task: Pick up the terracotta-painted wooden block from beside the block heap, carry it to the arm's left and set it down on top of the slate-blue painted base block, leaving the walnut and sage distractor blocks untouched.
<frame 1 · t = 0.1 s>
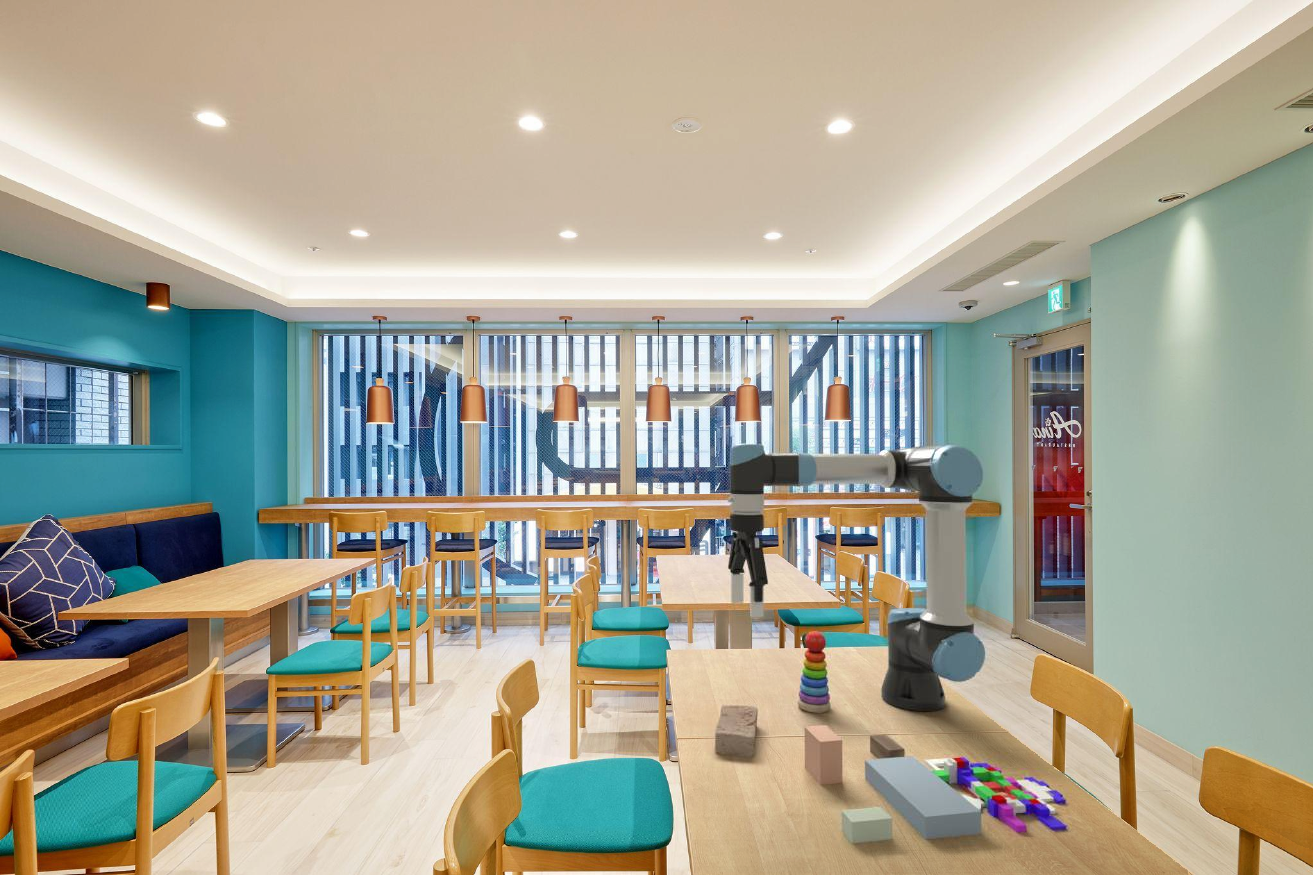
hand: (746, 609, 142), 28 cm above the table, fingers open, 13 cm apart
stacking toy: (814, 708, 159), on the table
building block set: (998, 796, 119), on the table
base block: (918, 806, 114), on the table
walnut block: (887, 759, 132), on the table
sage block: (866, 836, 105), on the table
terracotta block: (823, 775, 125), on the table
brick: (737, 740, 141), on the table
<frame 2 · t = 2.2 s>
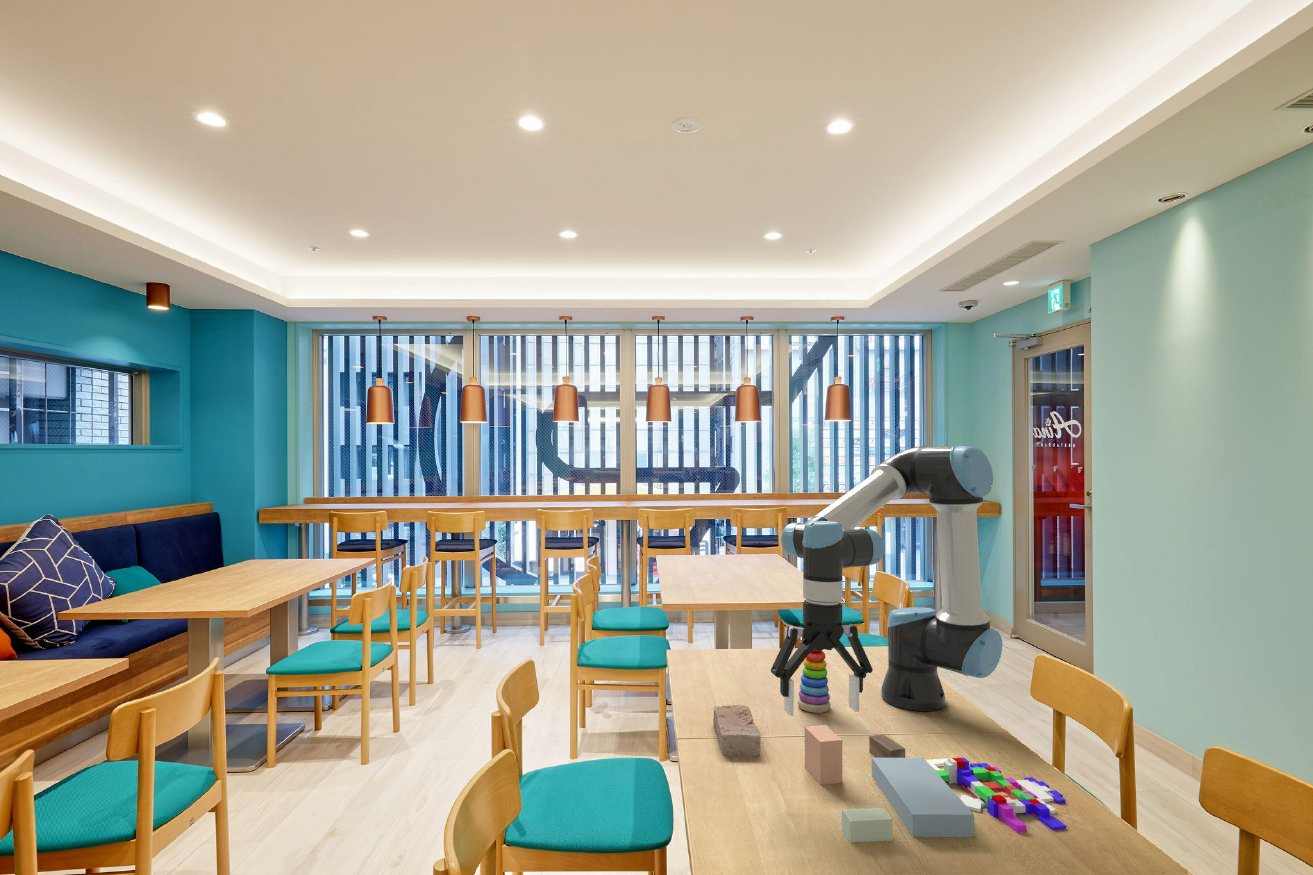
hand: (821, 711, 125), 12 cm above the table, fingers open, 13 cm apart
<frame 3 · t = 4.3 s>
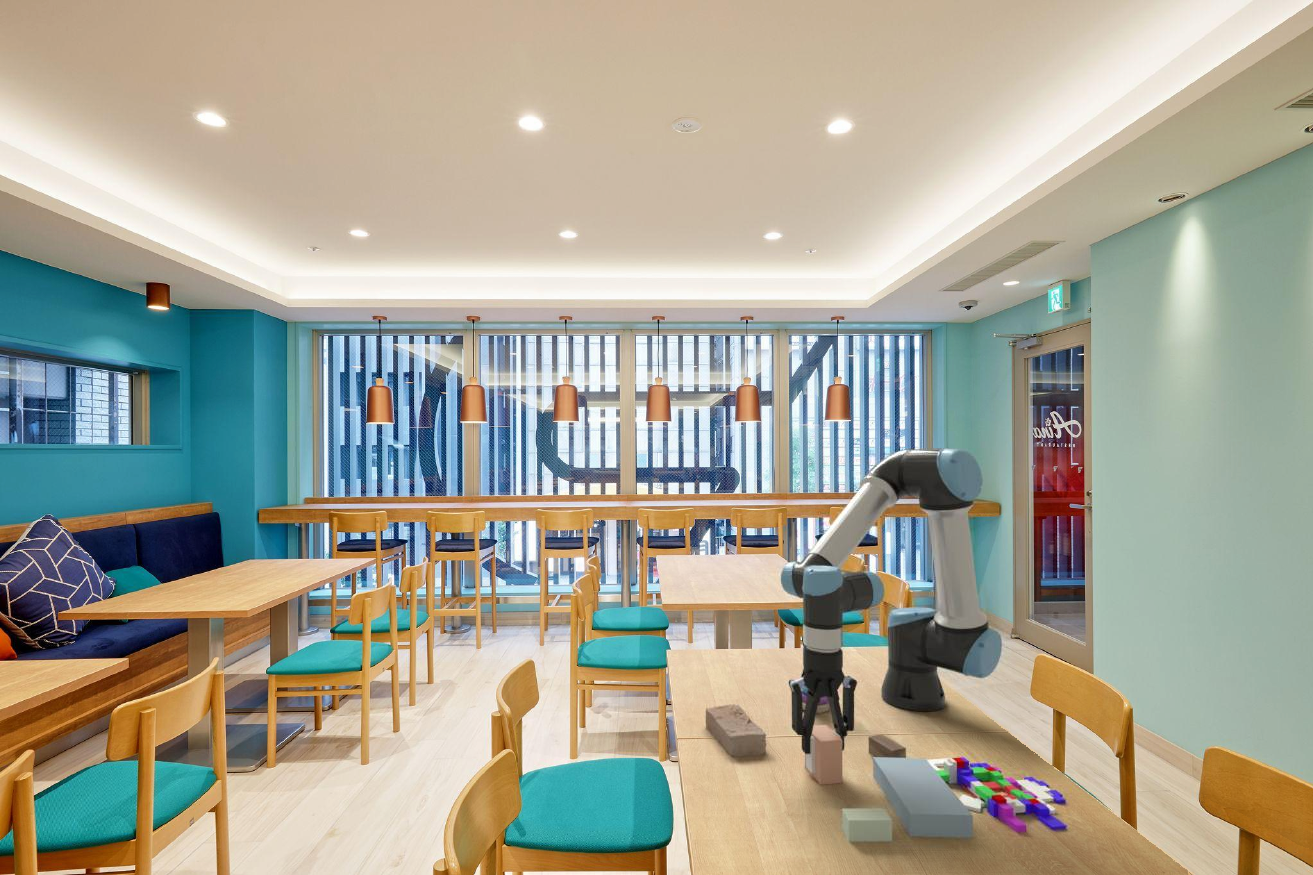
hand: (823, 768, 125), 1 cm above the table, fingers closed on terracotta block, 4 cm apart
terracotta block: (823, 774, 125), on the table, touching gripper
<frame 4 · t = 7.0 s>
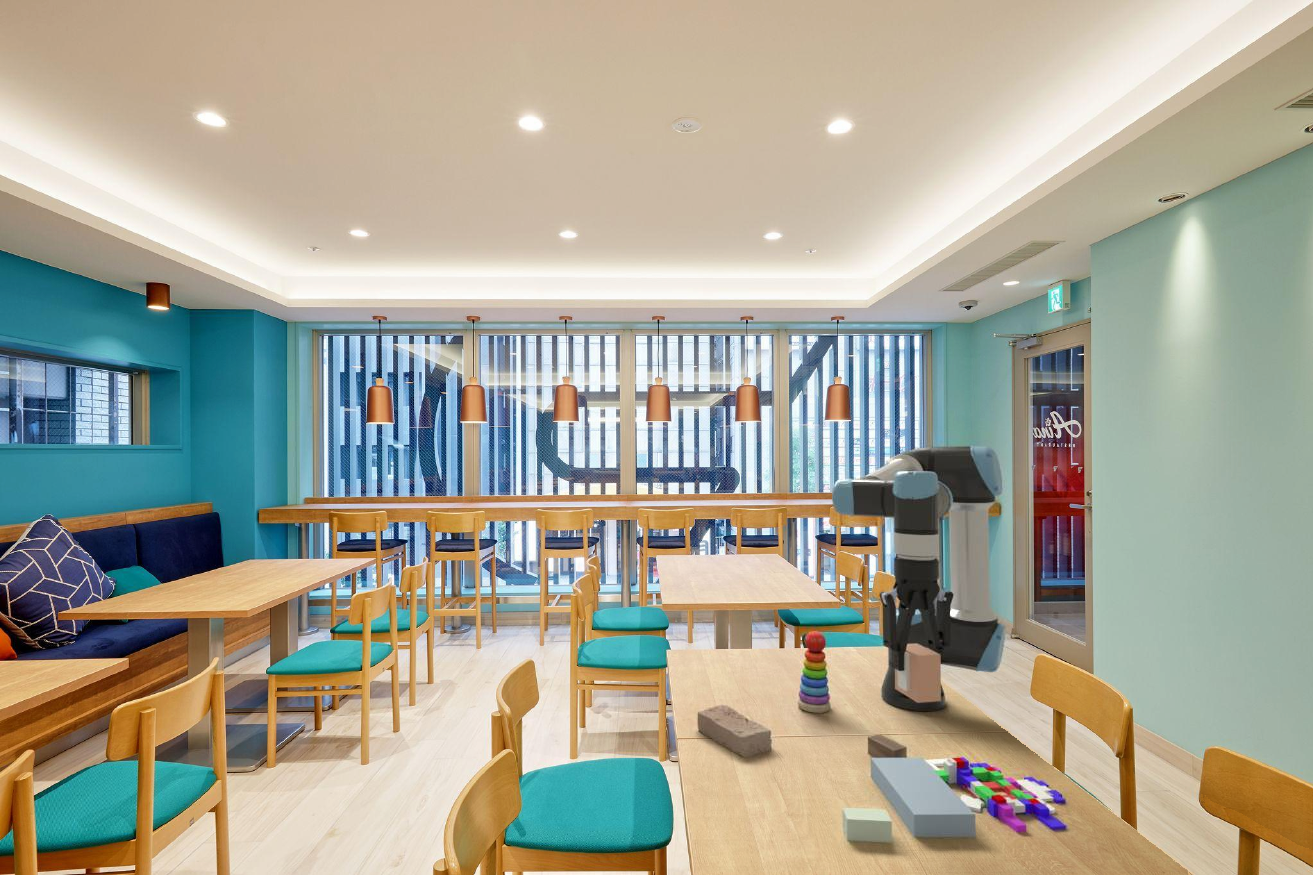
hand: (917, 687, 115), 20 cm above the table, fingers closed on terracotta block, 4 cm apart
terracotta block: (917, 694, 115), point 19 cm above the table, touching gripper
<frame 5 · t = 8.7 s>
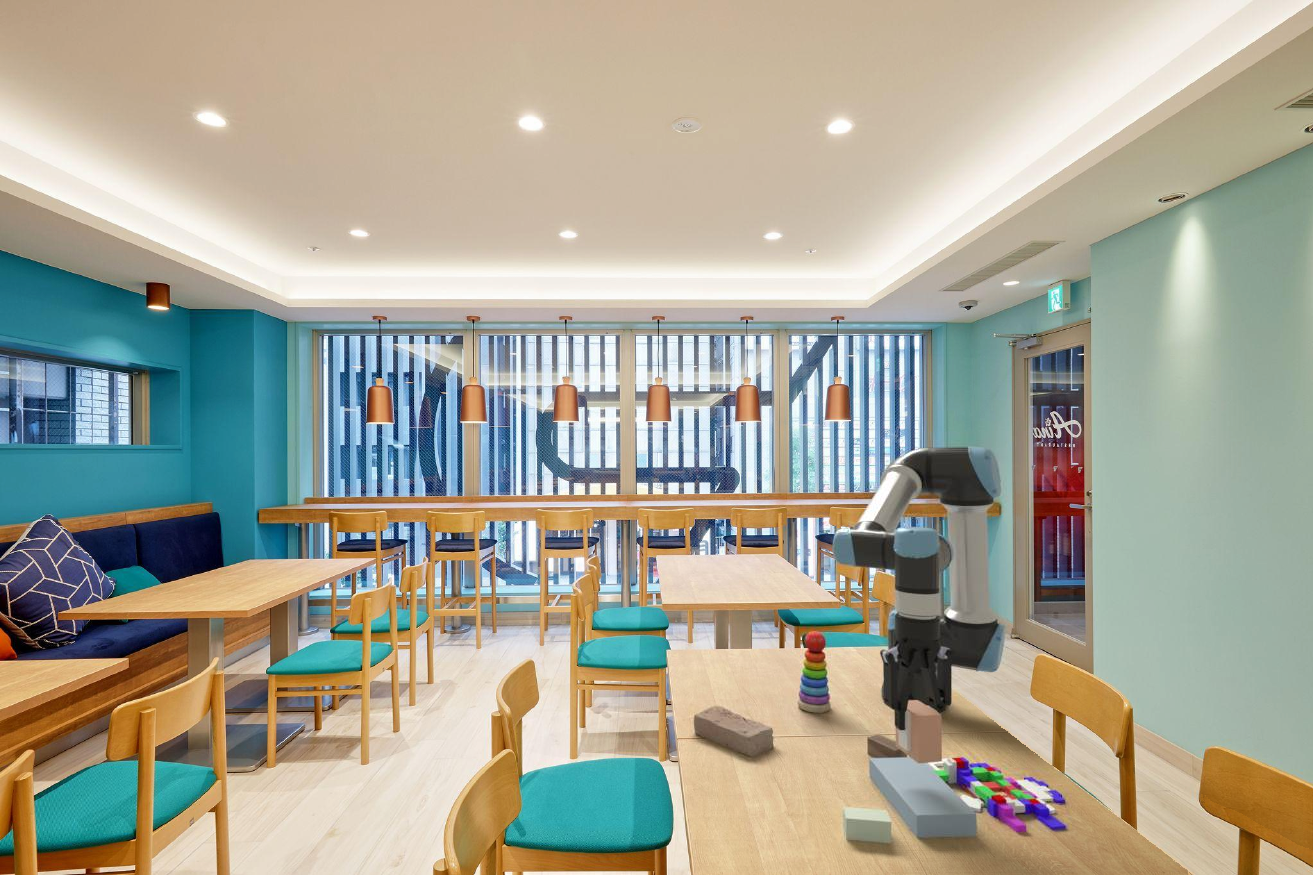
hand: (918, 746, 115), 10 cm above the table, fingers closed on terracotta block, 4 cm apart
terracotta block: (918, 753, 115), point 9 cm above the table, touching gripper
when the fingers open (7 cm above the table, at t = 10.1 s): terracotta block drops 2 cm, resting on base block.
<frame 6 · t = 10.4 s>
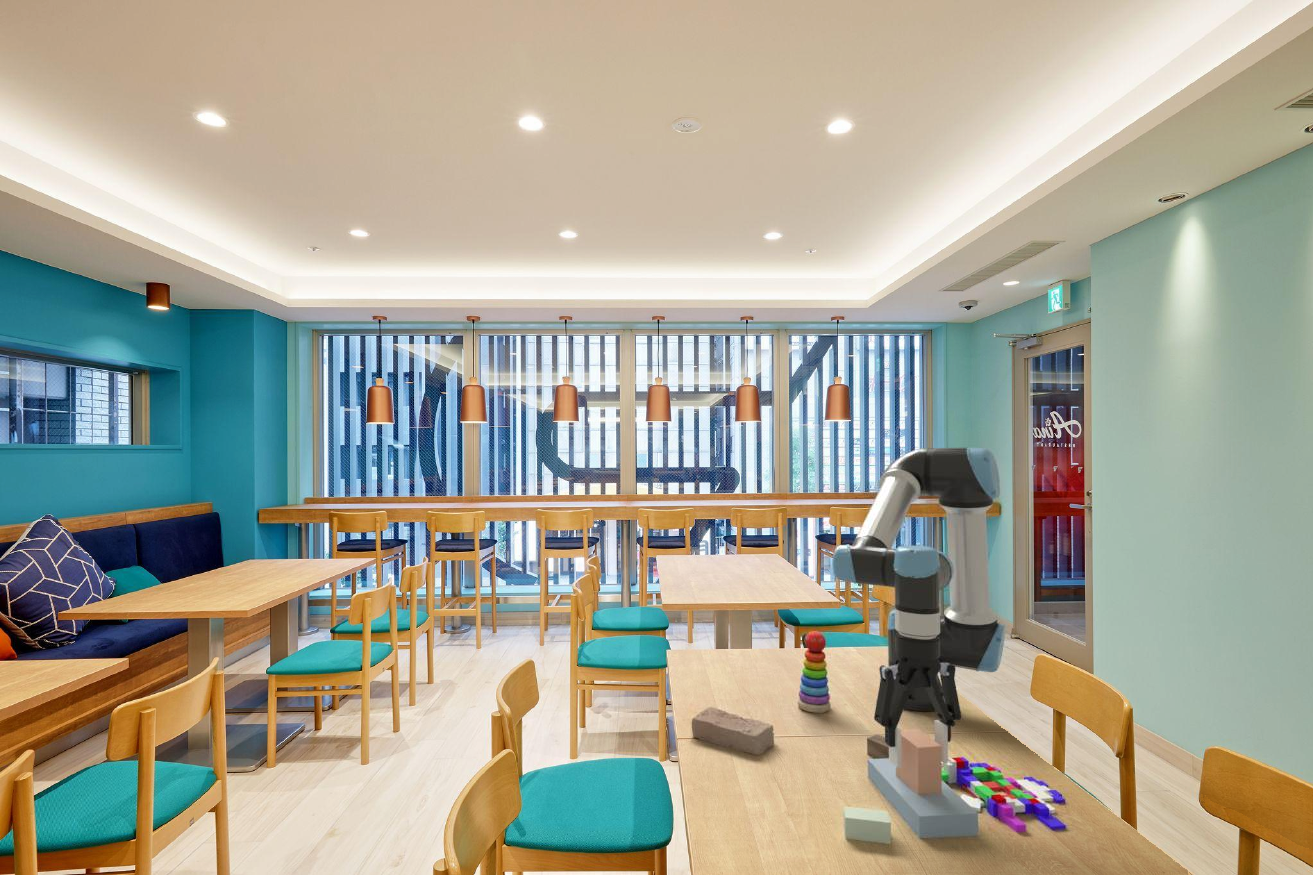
hand: (918, 761, 115), 7 cm above the table, fingers open, 8 cm apart
base block: (918, 806, 114), on the table, touching terracotta block
terracotta block: (918, 783, 115), point 3 cm above the table, touching base block
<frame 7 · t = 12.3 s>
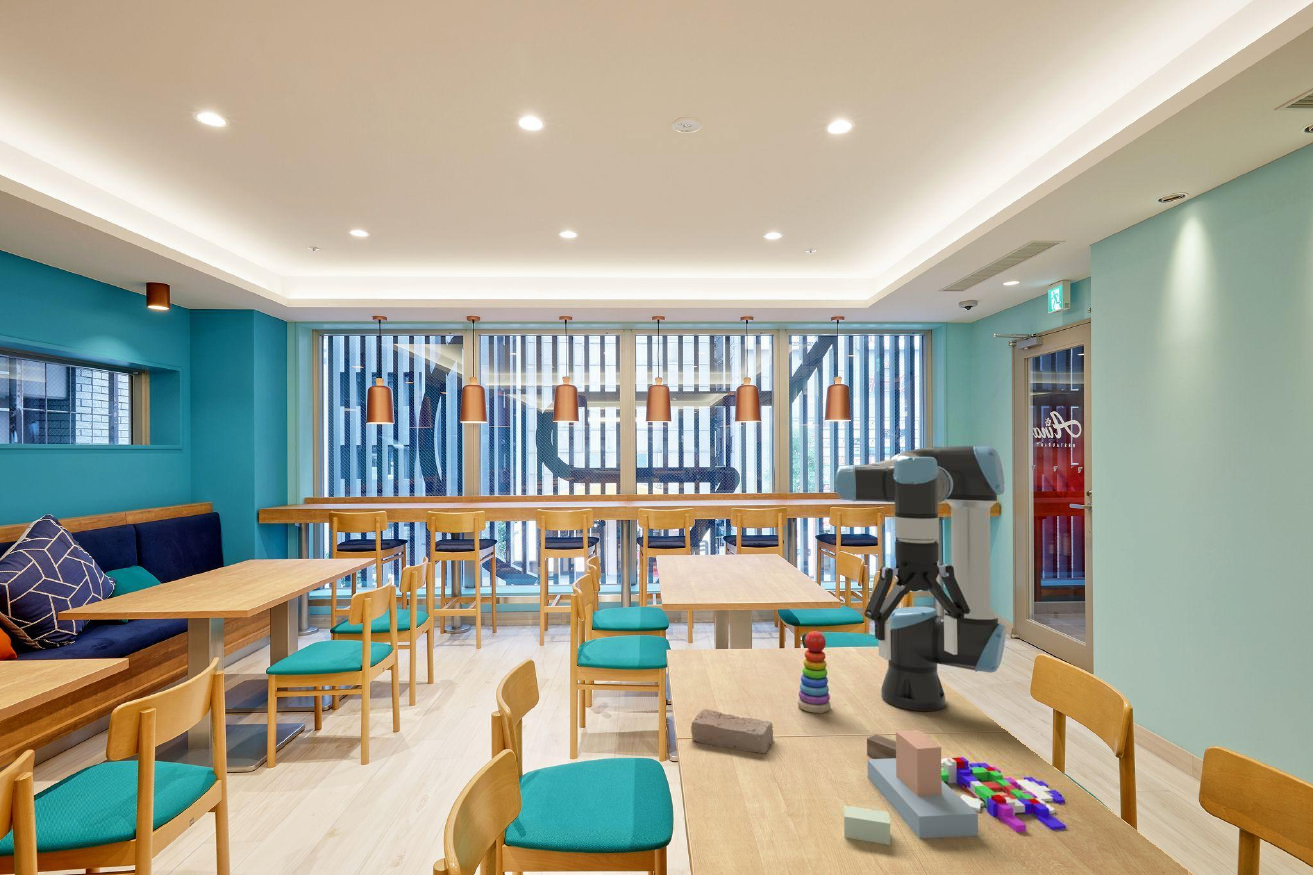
hand: (918, 655, 119), 25 cm above the table, fingers open, 13 cm apart
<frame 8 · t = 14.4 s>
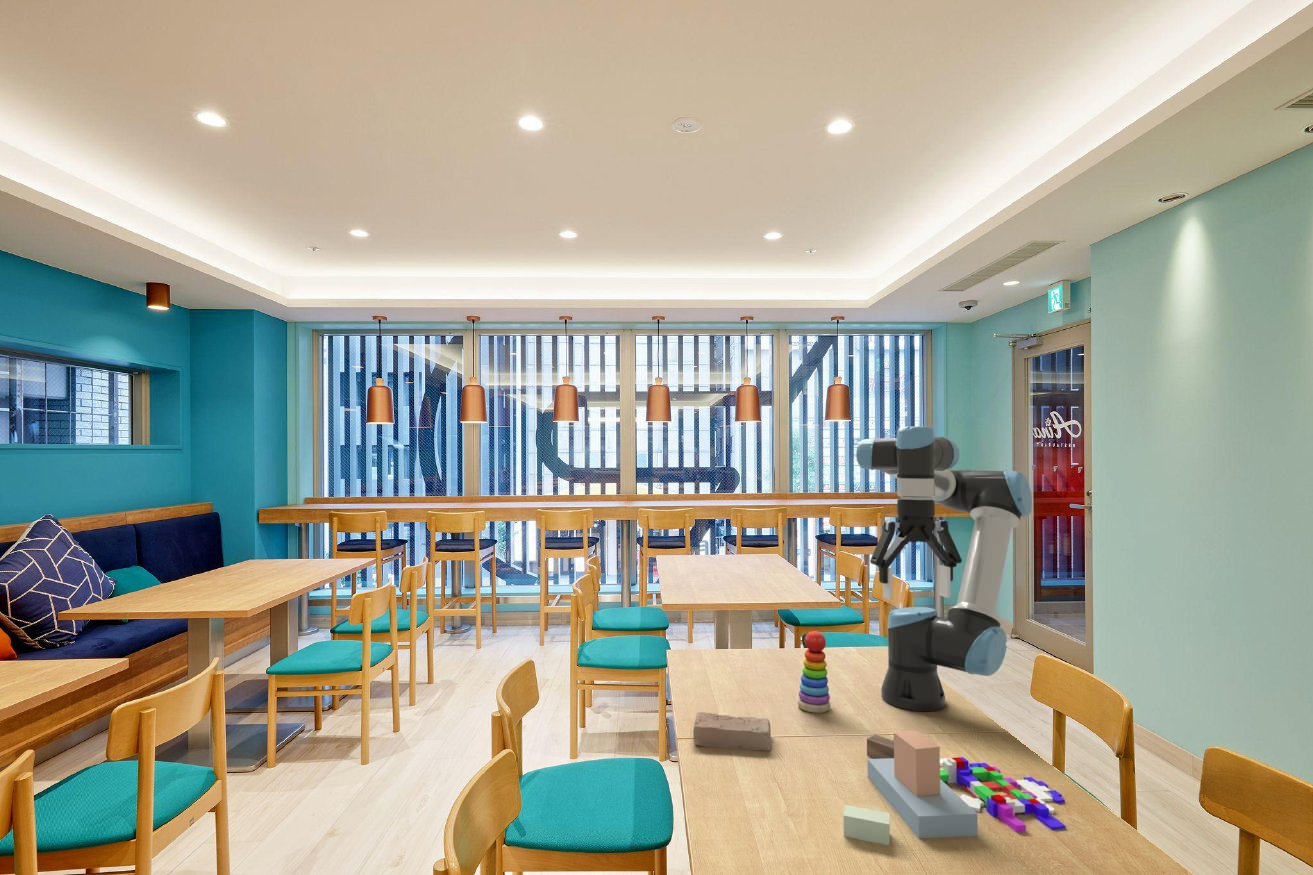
hand: (916, 597, 138), 32 cm above the table, fingers open, 13 cm apart
at the end: terracotta block inside the target area on the base block (0.6 cm from its centre), point 4.0 cm above the base block's base; walnut block moved 0.2 cm from its start; sage block moved 0.2 cm from its start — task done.
